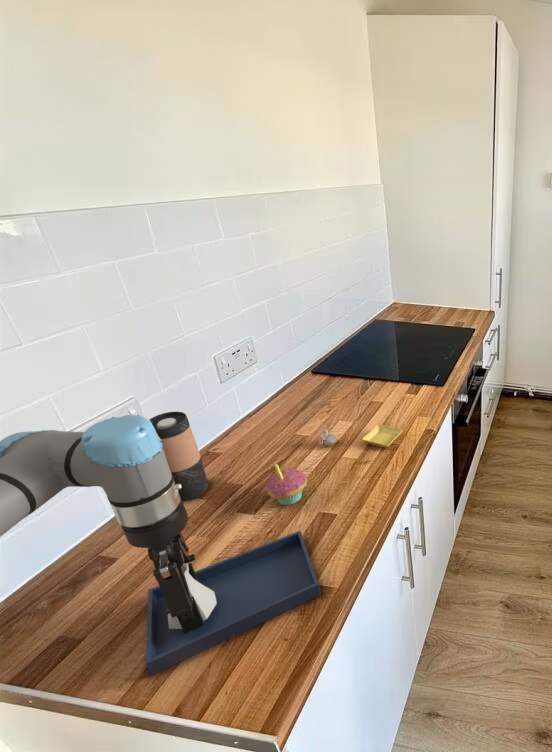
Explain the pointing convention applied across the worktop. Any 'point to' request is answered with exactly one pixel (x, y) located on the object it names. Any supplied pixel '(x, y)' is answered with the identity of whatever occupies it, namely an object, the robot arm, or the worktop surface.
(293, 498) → the cupcake
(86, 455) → the robot arm
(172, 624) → the flask
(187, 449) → the travel mug
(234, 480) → the worktop surface
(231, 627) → the tray
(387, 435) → the saucer
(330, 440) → the figurine
